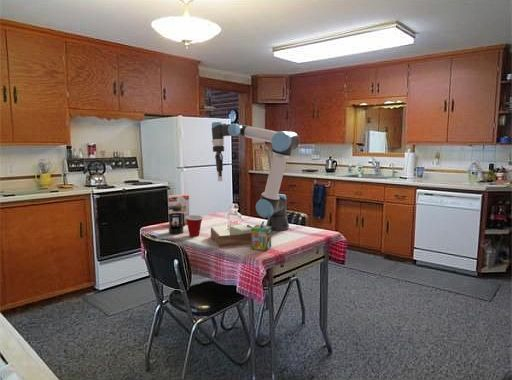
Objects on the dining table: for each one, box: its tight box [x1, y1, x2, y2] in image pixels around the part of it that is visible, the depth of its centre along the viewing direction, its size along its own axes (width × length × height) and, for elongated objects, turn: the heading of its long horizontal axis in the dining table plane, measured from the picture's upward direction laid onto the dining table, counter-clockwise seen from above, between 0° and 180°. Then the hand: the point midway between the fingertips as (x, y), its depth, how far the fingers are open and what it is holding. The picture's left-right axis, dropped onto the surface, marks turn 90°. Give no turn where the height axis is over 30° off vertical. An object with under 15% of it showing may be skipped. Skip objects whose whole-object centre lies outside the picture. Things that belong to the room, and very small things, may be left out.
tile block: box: [229, 224, 252, 235], centre depth 214 cm, size 14×7×8 cm, turn 37°
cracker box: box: [167, 194, 190, 226], centre depth 254 cm, size 14×6×21 cm, turn 104°
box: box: [210, 224, 254, 248], centre depth 215 cm, size 22×24×6 cm
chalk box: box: [251, 220, 272, 252], centre depth 198 cm, size 9×9×15 cm
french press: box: [167, 197, 186, 236], centre depth 233 cm, size 12×9×23 cm
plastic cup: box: [185, 214, 204, 238], centre depth 225 cm, size 11×11×12 cm
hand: (220, 181), depth 245 cm, fingers closed
